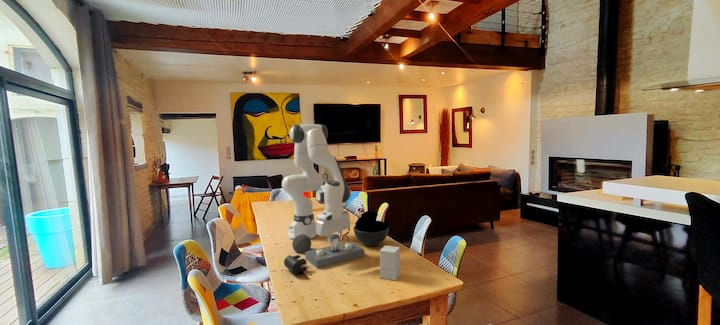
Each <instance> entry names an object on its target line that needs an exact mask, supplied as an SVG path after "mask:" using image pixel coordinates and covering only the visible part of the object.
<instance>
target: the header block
mask: <svg viewBox="0 0 720 325" xmlns="http://www.w3.org/2000/svg"><path fill="white" fill-rule="evenodd" d="M342 244H343V247H342ZM304 254H305V258H304V259H305V260H306V261H308V262H309V264H311V265H312V266H314V267H315V268H316V269H320V268H324V267H328V266H333V265H336V264H340V263H345V262H348V261H352V260H356V259H361V258H365V249H364V248H362V247H360V246H359V245H356V243H354V242H352V241H348V242H344V243H339V252H334V253H332V252H331V245H330V246H326V247H325V246H324V247H321V248H320V247H319V248H316V249H312V250H310V249H309V250H308V251H306V252H304Z"/></svg>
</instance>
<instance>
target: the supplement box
mask: <svg viewBox="0 0 720 325" xmlns="http://www.w3.org/2000/svg"><path fill="white" fill-rule="evenodd" d="M379 272H380V273H379V274H380V276H379V278H380V279H386V280H392V281H396V280H397V279H398V278H399V277H400V275H401V247H400V246H394V245H384V246H383V247H382V248H381V249H380V250H379Z"/></svg>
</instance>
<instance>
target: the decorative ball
mask: <svg viewBox="0 0 720 325" xmlns="http://www.w3.org/2000/svg"><path fill="white" fill-rule="evenodd" d="M311 246H312V240H311V239H310V238H309V237H308V236H307V235H304V234H300V235H298V236H296V237H295V238H294V239H292V250H293V251H295V252H296V253H300V254H301V253H302V254H305V252H306V251H310V249H311Z"/></svg>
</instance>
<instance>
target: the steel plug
mask: <svg viewBox="0 0 720 325" xmlns="http://www.w3.org/2000/svg"><path fill="white" fill-rule="evenodd" d="M330 238H332V242H330V246H331V252H332V253H334V252H339V244H340V241H339V240H340V239H339V235H338V233H332V234H331V236H330Z"/></svg>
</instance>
